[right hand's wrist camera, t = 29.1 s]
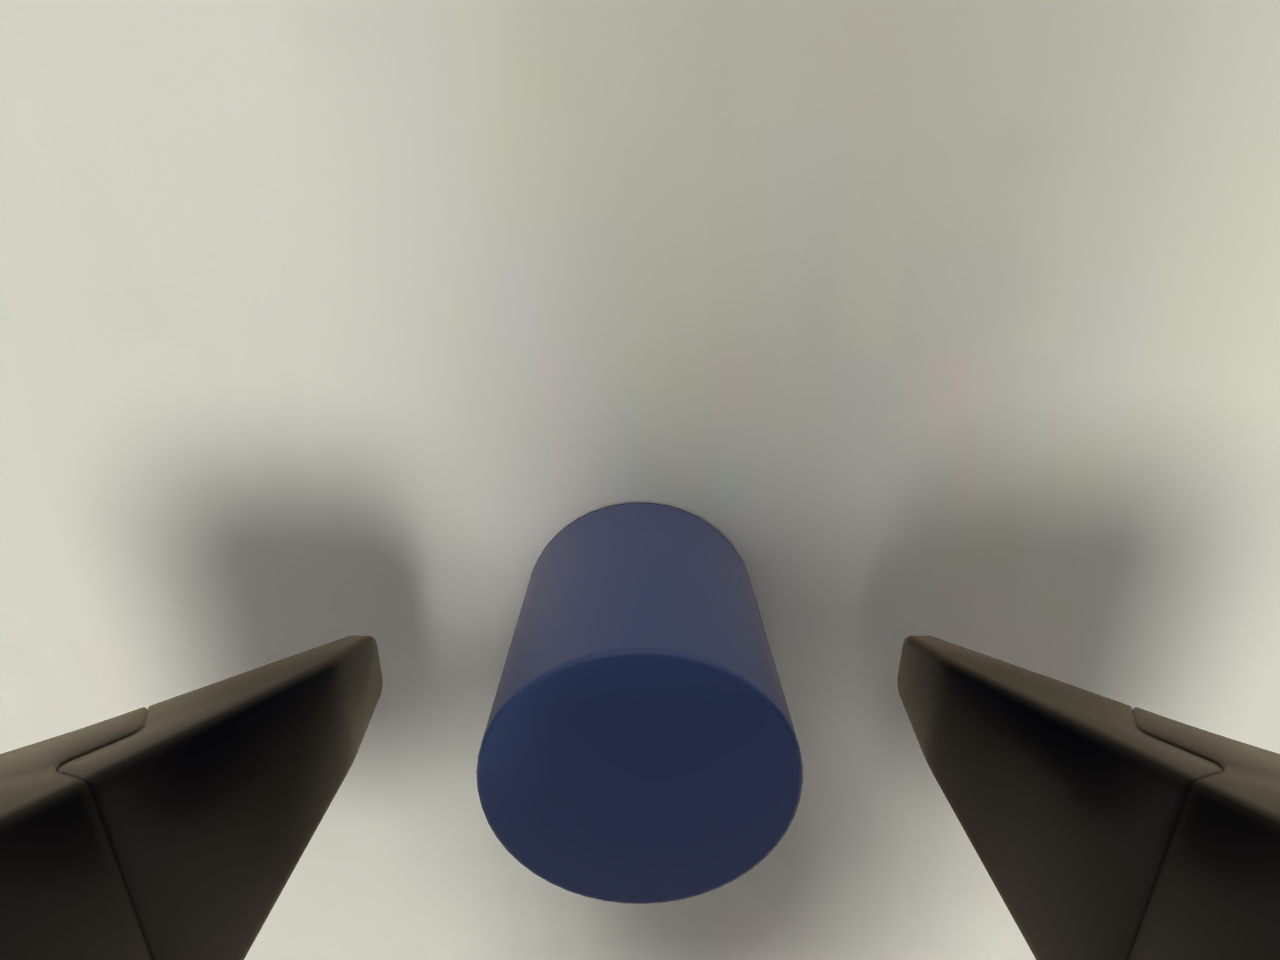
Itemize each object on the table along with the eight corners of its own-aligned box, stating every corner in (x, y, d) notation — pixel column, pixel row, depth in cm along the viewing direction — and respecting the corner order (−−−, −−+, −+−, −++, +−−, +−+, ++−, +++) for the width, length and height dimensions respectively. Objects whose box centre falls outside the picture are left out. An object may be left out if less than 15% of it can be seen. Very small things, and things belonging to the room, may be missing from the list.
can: (537, 698, 14) (493, 909, 10) (517, 504, 13) (455, 654, 8) (749, 693, 14) (795, 903, 10) (754, 497, 13) (813, 645, 8)
